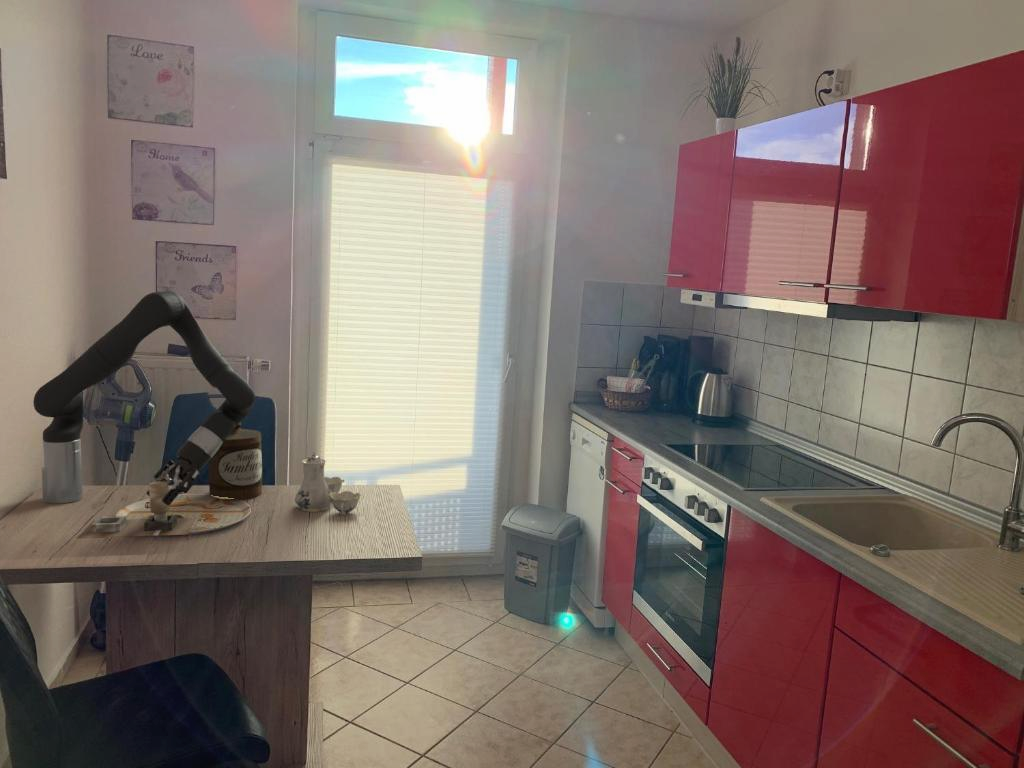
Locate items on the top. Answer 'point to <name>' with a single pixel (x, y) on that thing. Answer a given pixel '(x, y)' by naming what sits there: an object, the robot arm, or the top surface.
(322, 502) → the chinaware
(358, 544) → the top surface
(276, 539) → the top surface
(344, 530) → the top surface
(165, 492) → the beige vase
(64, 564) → the top surface
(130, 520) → the subfloor board
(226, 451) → the wooden container
